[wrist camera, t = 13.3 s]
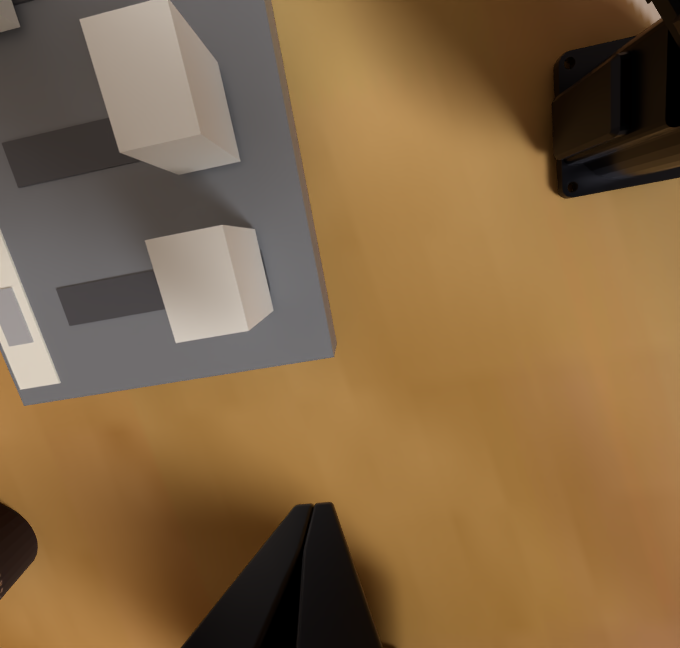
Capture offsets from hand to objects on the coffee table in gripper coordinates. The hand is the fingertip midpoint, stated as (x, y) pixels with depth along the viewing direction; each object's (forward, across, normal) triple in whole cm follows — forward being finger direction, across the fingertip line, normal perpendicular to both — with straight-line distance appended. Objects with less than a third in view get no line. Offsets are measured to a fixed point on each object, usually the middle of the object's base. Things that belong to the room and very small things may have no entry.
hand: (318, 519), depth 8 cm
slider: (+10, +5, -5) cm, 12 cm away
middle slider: (+10, +5, -12) cm, 16 cm away
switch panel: (+13, +10, -12) cm, 20 cm away
